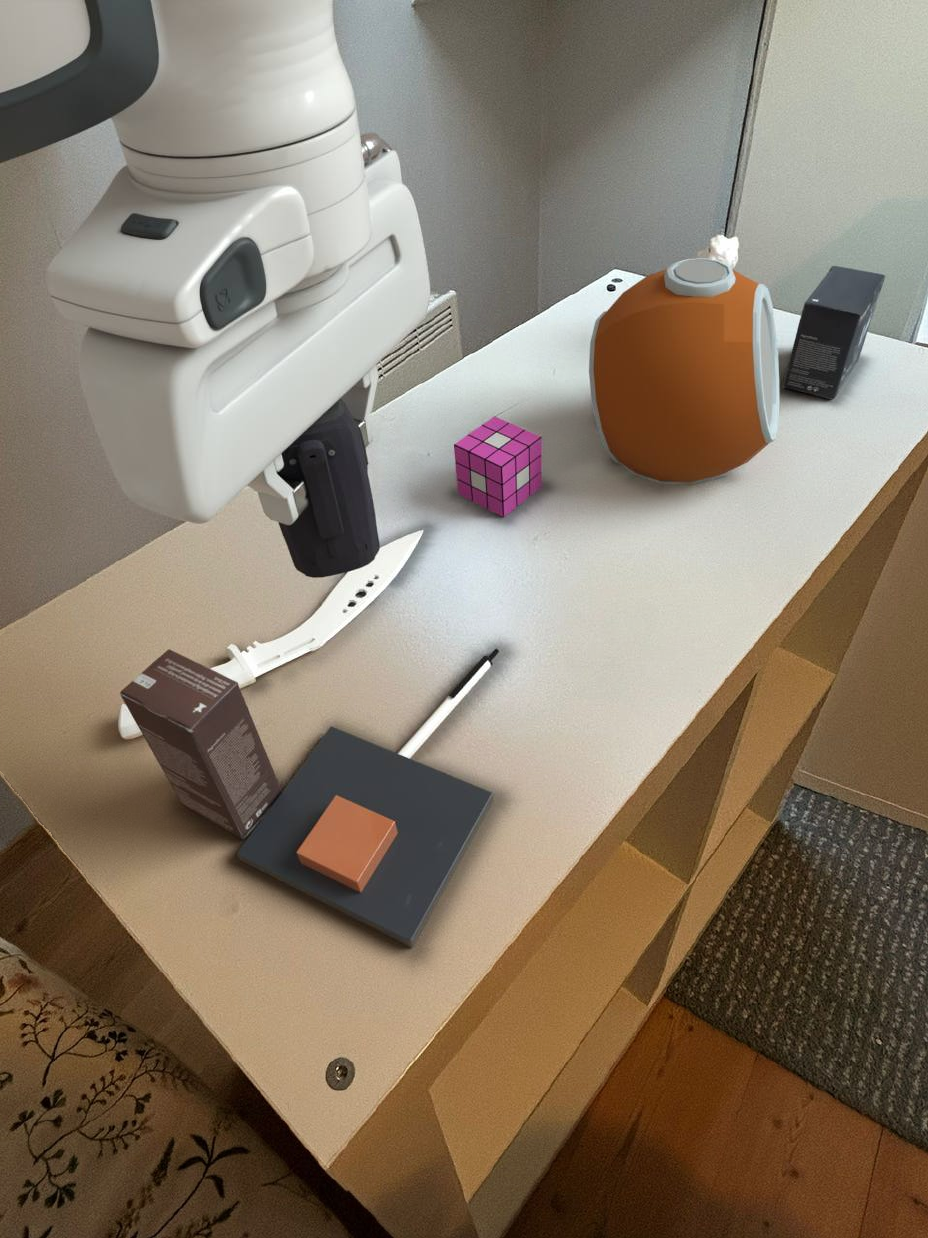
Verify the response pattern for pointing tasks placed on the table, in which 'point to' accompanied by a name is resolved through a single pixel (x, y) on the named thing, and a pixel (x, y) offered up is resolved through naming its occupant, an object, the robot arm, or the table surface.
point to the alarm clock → (686, 373)
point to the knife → (308, 623)
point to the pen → (447, 705)
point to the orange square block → (347, 843)
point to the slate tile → (395, 788)
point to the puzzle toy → (498, 465)
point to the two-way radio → (331, 497)
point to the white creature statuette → (722, 250)
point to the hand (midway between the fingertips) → (322, 479)
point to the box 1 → (204, 741)
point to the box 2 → (832, 331)
